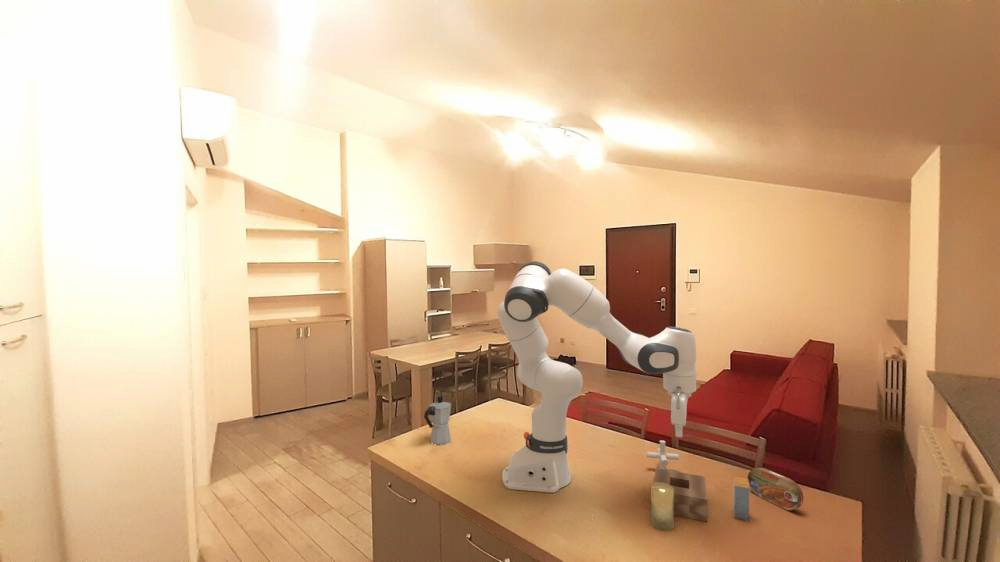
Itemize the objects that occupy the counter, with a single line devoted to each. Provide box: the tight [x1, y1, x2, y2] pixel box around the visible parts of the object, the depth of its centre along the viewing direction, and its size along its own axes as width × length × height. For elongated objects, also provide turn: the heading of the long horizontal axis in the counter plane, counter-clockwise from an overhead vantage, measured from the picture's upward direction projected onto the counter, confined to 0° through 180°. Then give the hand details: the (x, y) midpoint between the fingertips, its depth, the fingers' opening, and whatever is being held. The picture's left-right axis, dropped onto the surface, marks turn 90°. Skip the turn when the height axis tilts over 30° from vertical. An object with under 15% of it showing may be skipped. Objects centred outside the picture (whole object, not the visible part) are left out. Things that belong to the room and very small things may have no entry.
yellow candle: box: [650, 482, 675, 531], centre depth 114 cm, size 6×6×10 cm
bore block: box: [652, 467, 708, 522], centre depth 124 cm, size 14×14×6 cm
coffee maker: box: [423, 395, 452, 446], centre depth 170 cm, size 15×9×18 cm, turn 144°
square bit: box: [732, 476, 750, 522], centre depth 117 cm, size 4×4×10 cm
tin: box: [747, 467, 804, 511], centre depth 124 cm, size 15×3×8 cm, turn 24°
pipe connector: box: [646, 440, 680, 470], centre depth 144 cm, size 10×10×10 cm
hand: (679, 430), depth 123 cm, fingers open, 8 cm apart
